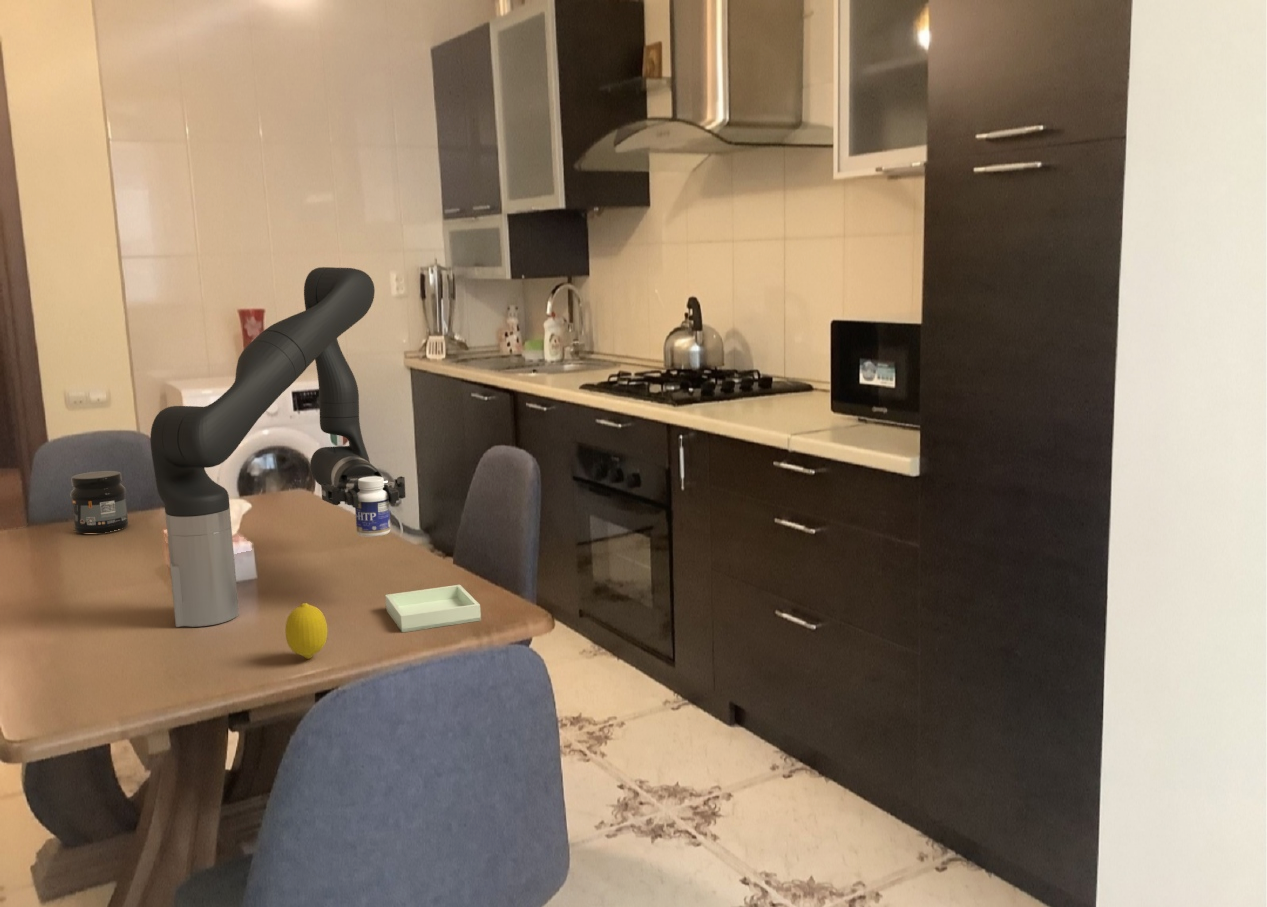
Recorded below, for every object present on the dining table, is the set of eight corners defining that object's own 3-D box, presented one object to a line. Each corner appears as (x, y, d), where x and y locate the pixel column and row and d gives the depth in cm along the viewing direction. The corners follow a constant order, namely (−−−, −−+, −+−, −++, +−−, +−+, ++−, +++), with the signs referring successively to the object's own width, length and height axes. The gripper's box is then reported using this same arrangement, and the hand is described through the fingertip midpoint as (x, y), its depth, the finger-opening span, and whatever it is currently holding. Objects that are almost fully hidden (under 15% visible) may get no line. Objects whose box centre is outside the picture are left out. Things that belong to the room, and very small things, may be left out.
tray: (402, 632, 157) (401, 616, 157) (386, 610, 168) (385, 594, 168) (480, 620, 162) (480, 604, 162) (460, 599, 173) (459, 584, 172)
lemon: (317, 667, 144) (313, 610, 143) (279, 664, 145) (275, 608, 144) (336, 652, 149) (332, 598, 148) (300, 650, 150) (296, 596, 149)
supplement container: (95, 523, 233) (89, 470, 231) (139, 524, 232) (134, 470, 230) (63, 535, 223) (56, 479, 221) (109, 536, 221) (103, 479, 219)
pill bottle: (350, 535, 168) (346, 480, 167) (369, 528, 173) (366, 474, 172) (378, 538, 166) (374, 482, 165) (397, 530, 171) (394, 476, 170)
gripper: (311, 462, 178) (326, 480, 163) (397, 455, 184) (419, 471, 169) (314, 506, 179) (329, 527, 164) (399, 497, 185) (421, 517, 170)
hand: (375, 499), depth 166 cm, fingers closed on pill bottle, 5 cm apart
